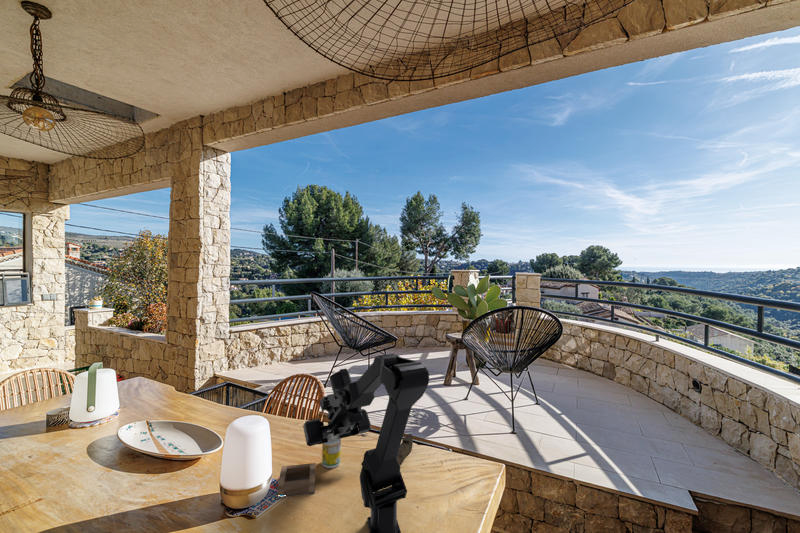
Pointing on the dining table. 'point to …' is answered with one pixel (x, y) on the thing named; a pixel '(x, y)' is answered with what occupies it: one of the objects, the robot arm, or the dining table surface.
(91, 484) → the dining table surface
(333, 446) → the supplement bottle
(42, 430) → the dining table surface
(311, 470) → the socket block
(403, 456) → the hand tool
